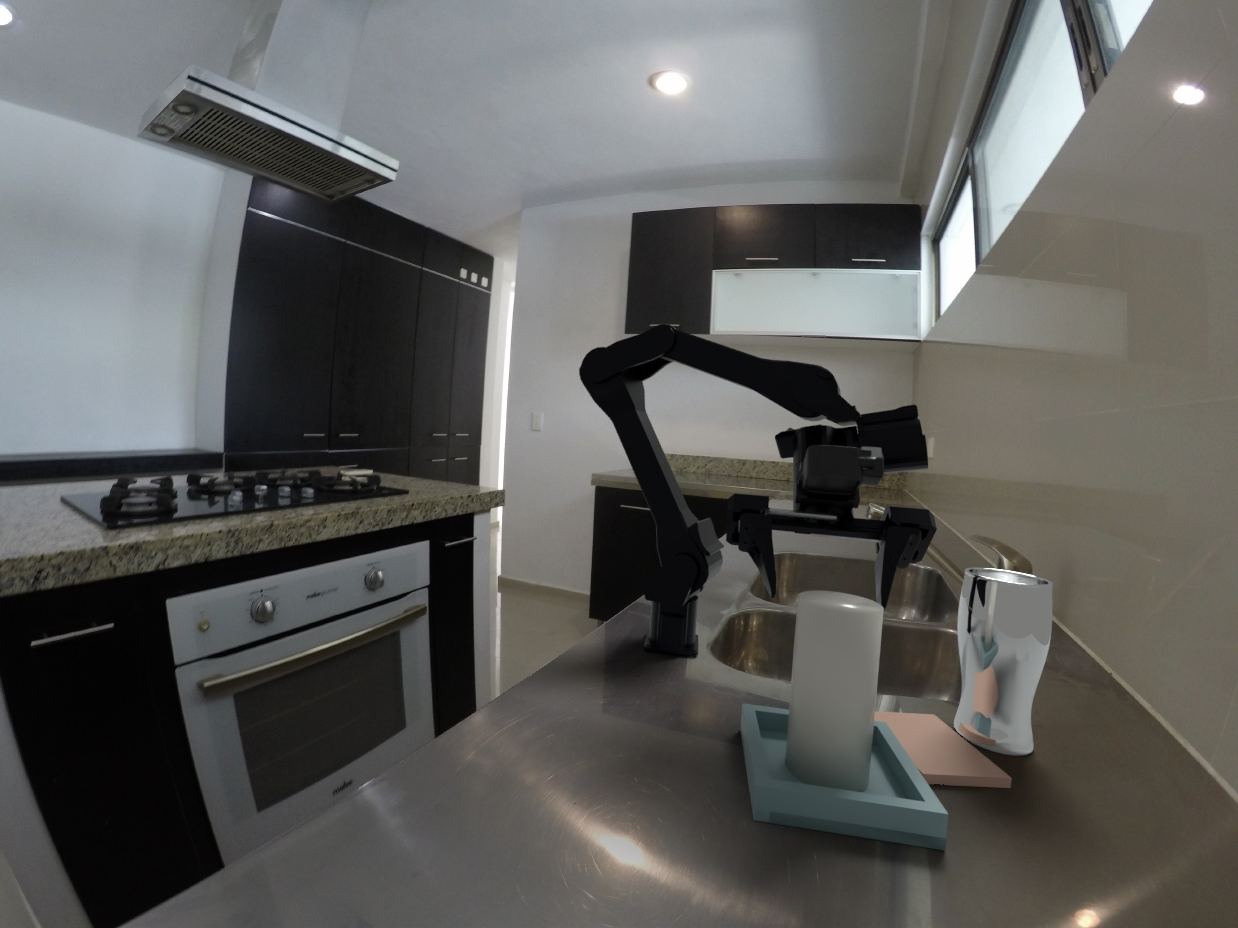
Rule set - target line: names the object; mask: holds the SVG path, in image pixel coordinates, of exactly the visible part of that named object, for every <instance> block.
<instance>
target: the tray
mask: <svg viewBox="0 0 1238 928" xmlns="http://www.w3.org/2000/svg"><path fill="white" fill-rule="evenodd" d="M741 704H742V705H741V718H740V727H739V728H740V729H739V730H740V738H741V744H742V751H743V758H744V763H745V769H746V778H747V784H748V785H747V786H748V790H749V791H748V792H749V798H750V805H751V812H752V819H753V821H756V822H761V823H762V822H764V823H770V824H775V825H781V826H789V827H794V828H800V829H805V830H807V829H808V830H813V831H819V832H826V833H831V834H837V835H838V834H839V835H844V836H851V837H857V838H862V839H863V838H864V839H870V840H877V841H883V842H888V843H895V844H901V845H908V846H914V847H920V848H926V849H933V850H939V851H945V852H946V847H947V846H946V844H947V834H948V825H949V812H948V811H947V810H946V809H945V808H946V807H944V806H943V804H942V803H941V801H940V799H939V798H938V797H937V795H936V794H935V792H934V791H933V790H932V787H930V784H928V783H927V782H926V780H925V779H924V777H923V776H922V775H921V773H920V772H919V770H918V769H917V767H916V766H915V764H914V763H913V761H912V760H911V758H910V757H909V755H908V754H907V753H906V751H905V750H904V748H903V747H902V745H901V744H900V742H899V741H898V739H897V738H896V736H895V735H894V734H893V732H892V731H891V729H890V728H889V726H888V725H887V723H886V722H881V721H874V728H873V740H872V752H871V763H870V775H869V785H868V787H867V788H866V789H865V790H864V791H862V792H856V791H849V790H842V789H835V788H829V787H822V786H815V785H808V784H805V783H803V782H801V781H800V780H798V779H797V778H796V777H795V776H794V775H792V774H791V772H790V771H789V770H788V768H787V766H786V764H785V755H786V743H787V730H788V717H789V708H782V707H781V708H780V707H773V706H772V707H771V706H765V705H759V704H758V705H756V704H751V703H741Z"/></svg>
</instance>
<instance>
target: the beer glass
mask: <svg viewBox="0 0 1238 928" xmlns="http://www.w3.org/2000/svg"><path fill="white" fill-rule="evenodd" d="M1053 587H1054V583H1053V582H1052V581H1050V580H1049V579H1046V578H1044V577H1040V576H1036V575H1034V574H1033V575H1032V574H1028V573H1024V572H1019V571H1013V570H1006V569H999V568H991V567H979V566H978V567H976V566H975V567H966V568H965V569H964V576H963V581H962V587H961V592H960V597H959V603H958V610H957V611H958V612H957V626H956V627H957V642H958V643H957V644H958V645H957V646H958V652H959V655H958V656H959V663H960V673H961V694H960V700H959V705H958V707H957V711H956V714H955V716H954V720H953V724H954V725H953V729H954V728H955V729H956V731H957V732H958V733H959V734H960V735H961V736H963V737H964V738H965V740H966V741H967V740H968V741H967V742H969V741H970V742H969V743H970V744H972V745H975V746H977V747H979V748H981V749H983V750H986V751H990V752H994V753H997V754H1001V755H1007V756H1014V757H1015V756H1016V757H1017V756H1018V757H1020V756H1021V757H1022V756H1027V755H1030V754H1031V753H1032V752H1033V751H1034V737H1033V729H1032V718H1031V716H1032V707H1033V701H1034V698H1035V694H1036V691H1037V688H1038V685H1039V681H1040V678H1041V677H1042V672H1043V669H1044V667H1045V664H1046V661H1047V657H1048V653H1049V650H1050V646H1051V645H1050V644H1051V636H1052V630H1053V629H1052V627H1053ZM955 729H954V730H955ZM956 731H955V732H956ZM957 732H956V733H957ZM958 733H957V734H958ZM963 737H962V738H963ZM964 738H963V739H964Z"/></svg>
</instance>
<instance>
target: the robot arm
mask: <svg viewBox="0 0 1238 928" xmlns="http://www.w3.org/2000/svg"><path fill="white" fill-rule="evenodd" d="M672 363H677V364H680V365H683V366H686V367H688V368H690V369H694V370H695V371H696V370H697V371H700V372H702V373H705V374H707V375H710V376H713V377H716V378H719V379H722V380H724V381H727V382H729V383H732V384H734V385H738V386H740V387H742V388H746V389H748V390H751V391H753V392H755V393H757V394H759V395H760V396H762V397H764V398H766V399H768V400H769V401H771V402H772V403H775V404H776V405H778V406H779V407H781V408H783V409H785V411H788V412H790V413H791V414H793V415H794V416H797V417H798V418H800V419H802V420H805V421H808V422H809V421H810V422H819V421H822V420H825V419H826V420H827V421H829V422H833V423H834V424H836V425H839V426H841V427H833V426H832V425H826V424H825V425H823V424H813V425H807V426H801V427H799V428H796V429H795V428H793V427H788V428H787V429H786V430H783V431H780V432H778V433H777V434H775V435H774V439H775V444H776V448H777V450H778V453H779V457H780V458H781V459H783V460H784V459H791V458H792V503H793V504H792V509H785V508H784V509H783V508H773V507H769V504H770V495H768V494H757V493H746V492H744V493H743V492H734V493H732V495H730V496H729V497H728V499H727V500H728V501H727V510H726V531H725V532H726V535H725V541H726V542H727V543H728V544H729V545H731V546H737V548H738V551H740V552H743V553H747V554H748V555H749V557H750V558H751V560H752V561H753V563H754V565H755V566H756V568H757V570H758V572H759V574H760V576H761V578H762V581H763V583H764V585H765V588H766V590H767V593H768V595H769V597H770V599H776V597H777V596H776V594H777V571H776V569H777V568H776V562H775V561H776V560H775V551H774V544H773V543H774V542H773V531H781V532H788V533H789V532H790V533H794V534H801V535H810V536H811V537H817V538H828V539H838V540H839V539H840V540H849V541H861V542H869V543H874V544H875V553H876V554H877V555H876V558H875V561H874V578H875V579H874V581H875V598H876V599H875V600H876V601H875V602H877V603H878V604H880V605H881V606H882V607H883V608H884V611H883V613H884V612H885V611H886V608H887V606H888V603H889V598H890V594H891V591H892V587H893V583H894V580H895V579H894V578H895V575H896V573H897V569H906V568H908V567H909V566H910V564H913V565H914V564H917V563H920V562H922V561H923V559H924V556H925V555H926V553H927V551H928V549H929V546H930V545H931V542H932V541H933V539H934V537H935V534H936V532H937V530H938V528H937V524H936V519H935V515H934V514H933V513H932V512H931V511H930V509H928V508H925V507H919V506H918V507H916V506H915V507H914V506H905V505H904V506H903V505H890V504H886V505H885V508H884V510H883V513H882V516H881V519H873V518H872V519H871V518H870V519H869V518H861V517H860V518H858V517H855V515H854V509H858V508H859V505H860V503H861V497H860V496H861V495H860V486H861V485H872V486H878V485H879V483H880V482H881V480H882V479H883V478H884V475H886V474H895V473H896V474H897V473H902V472H903V473H904V472H905V473H906V472H913V471H914V472H916V471H922V470H923V471H924V470H928V469H929V456H928V448H927V447H928V445H927V440H926V439H927V438H926V434H925V433H923V430H922V424H921V419H920V415H919V410H918V406H917V405H916V404H908V405H902V406H900V407H897V408H893V409H889V410H882V411H873V412H868V413H867V412H866V413H862V414H861V413H860V412H859V411H858V410H857V406H856V405H851V404H850V403H849V402H848V401H847V400H846V399H845V398H844V397H843V396H842V395H841V393H842V392H841V389H840V386H839V384H838V382H837V380H836V377H835V376H834V374H833V372H831V371H830V370H829V369H827V368H825V367H823V366H822V365H819V364H813V363H807V362H800V361H799V362H798V361H792V360H782V359H769V358H762V357H759V356H756V355H753V354H750V353H747V352H744V351H741V350H739V349H735V348H732V347H729V346H727V345H725V344H721V343H718V342H715V341H712V340H709V339H706V338H703V337H700V336H697V335H694V334H691V333H688V332H686V331H682V330H680V329H677V328H675V327H674V326H673V325H671V324H667V323H661V324H658V325H655V326H654V327H652V328H649V329H648V330H645V331H644V332H642V333H639V334H636V335H633V336H630V337H626V338H624V339H623V338H622V339H621V340H617V341H615V342H613V343H611V344H609V345H608V346H598V347H594V348H592V349H591V350H590V351H588V352H587V353H586V354H585V356H584V357H583V359H582V361H581V364H580V367H579V368H578V371H579V372H578V373H579V374H578V375H579V379H580V381H581V383H582V386H584V388H585V389H586V391H587V393H588V394H589V396H590V398H591V399H592V400H593V402H594V403H595V404H596V406H597V407H598V408H600V409H601V411H602V412H603V413H604V414H605V415H606V416H607V417H608V418H609V420H610V421H611V422H612V425H613V427H614V430H615V431H616V434H617V436H618V438H619V440H620V443H621V446H622V448H623V450H624V453H625V454H626V457H627V459H628V462H629V464H630V467H631V469H632V471H633V473H634V476H635V478H636V481H637V483H638V485H639V487H640V490H641V492H642V494H643V495H642V496H643V497H644V499H645V502H646V504H647V507H648V509H649V511H650V514H651V516H652V518H653V521H654V523H655V532H656V534H655V535H656V536H655V537H656V551H657V555H658V560H659V563H660V567H659V568H658V569H656V571H654V572H652V573H651V575H649V576H648V577H646V578H645V579H644V580H643V581H642V582H641V586H642V591H643V595H644V598H645V601H650V602H651V605H650V619H649V629H647V632H646V636H645V639H644V643H643V647H642V648H643V650H644V651H651V652H659V653H665V654H667V653H668V654H677V655H684V656H691V657H692V656H693V657H696V656H699V635H698V634H696V633H697V632H696V631H697V622H698V621H697V619H698V609H699V608H698V605H699V596H698V594H699V593H701V592H702V591H704V588H706V587H705V586H706V585H707V584H708V583H709V582H711V581H712V580H713V579H715V578H716V577H717V575H718V574H719V573H720V571H721V569H722V565H723V562H724V559H723V554H722V549H724V548H725V545H724V544H723V543H722V542H721V541H720V539H719V538H718V536H717V534H716V530H715V527H714V523H713V521H712V518H711V517H707V518H704V519H701V520H699V519H698V518H697V516H695V515H694V513H693V512H692V510H691V509H690V507H689V506H688V503H687V501H686V499H685V497H684V495H683V493H682V490H681V488H680V486H679V483H678V481H677V479H676V477H675V474H674V472H673V470H672V467H671V465H670V463H669V461H668V459H667V456H666V454H665V452H664V450H663V447H662V445H661V443H660V440H659V438H658V436H657V433H656V432H655V429H654V427H653V424H652V422H651V420H650V418H649V415H648V412H647V411H646V398H645V397H646V393H645V386H644V383H643V382H645V381H646V380H648V379H651V378H652V377H654V376H655V375H657V374H658V373H659V372H660V371H661V370H662V369H664V368H665V367H667V366H668V365H670V364H672Z"/></svg>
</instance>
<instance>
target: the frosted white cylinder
mask: <svg viewBox="0 0 1238 928" xmlns="http://www.w3.org/2000/svg"><path fill="white" fill-rule="evenodd" d="M796 603H797V605H796V615H795V629H794V643H793V658H792V666H791V667H792V668H791V669H792V670H791V678H790V679H791V681H790V695H789V704H788V705H789V707H788V709H789V717H788V730H787V743H786V755H785V764H786V766H787V768H788V770H789V771H790V772H791V774H792V775H794V776H795V777H796V778H797V779H798V780H800V781H801V782H803V783H805V784H808V785H815V786H822V787H829V788H835V789H842V790H849V791H856V792H862V791H864V790H865V789H866V788H867V787H868V785H869V775H870V763H871V752H872V740H873V728H874V717H875V711H876V705H877V704H876V702H877V690H878V681H879V680H878V678H879V668H880V656H881V646H882V645H881V643H882V631H883V624H884V623H883V621H884V612H885V611H884V608H883V607H882V606H881V605H880V604H878V603H877V601H875V600H872V599H869V598H866V597H863V596H859V595H855V594H851V593H845V592H842V591H832V590H815V589H814V590H806V591H802V592H800V593H798V595H797V602H796ZM883 611H884V612H883Z"/></svg>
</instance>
